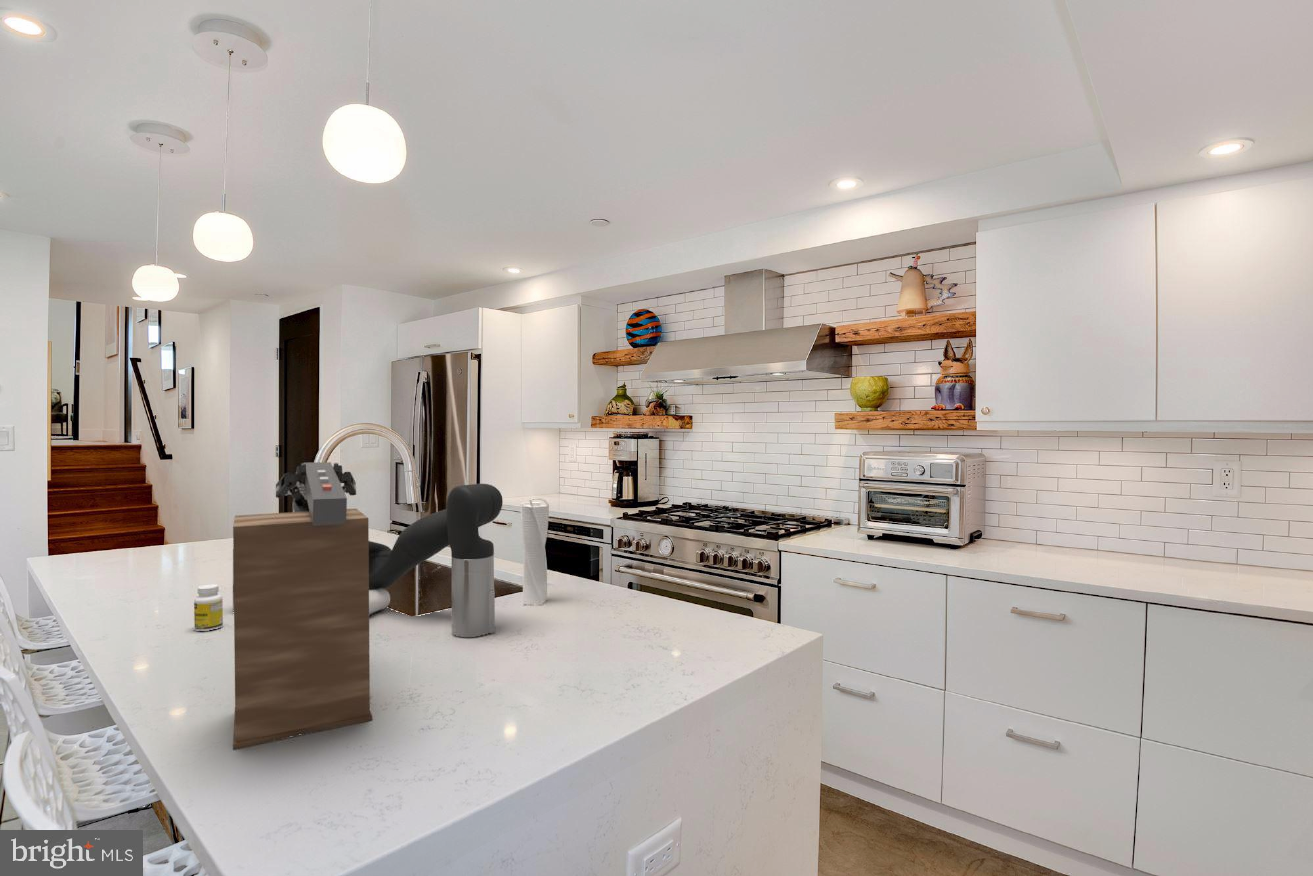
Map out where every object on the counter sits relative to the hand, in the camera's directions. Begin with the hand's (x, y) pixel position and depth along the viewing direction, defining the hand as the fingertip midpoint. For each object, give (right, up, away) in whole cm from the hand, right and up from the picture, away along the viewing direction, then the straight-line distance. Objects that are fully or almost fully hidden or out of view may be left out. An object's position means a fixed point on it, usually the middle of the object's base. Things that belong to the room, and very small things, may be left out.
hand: (320, 468), depth 119 cm
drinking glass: (-10, -35, +52) cm, 64 cm away
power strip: (+3, -5, -5) cm, 8 cm away
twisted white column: (+27, -38, +58) cm, 74 cm away
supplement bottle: (-43, -39, +35) cm, 68 cm away
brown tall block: (+3, -39, -11) cm, 41 cm away
